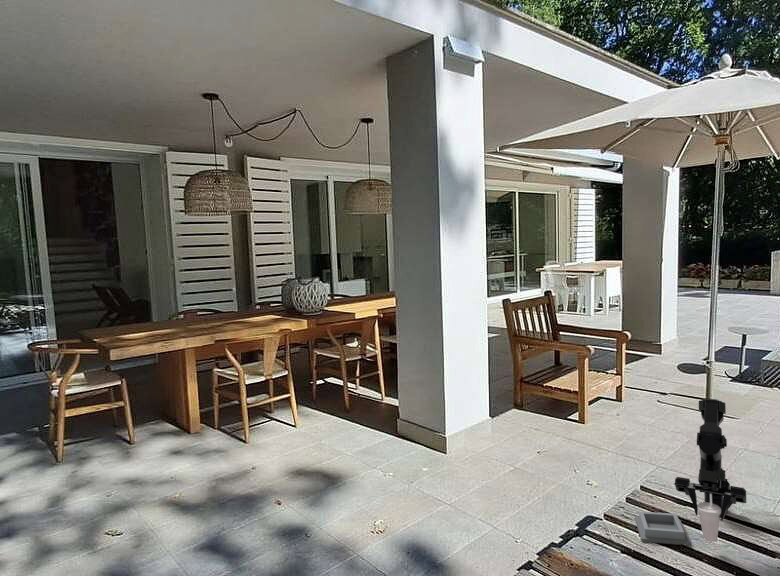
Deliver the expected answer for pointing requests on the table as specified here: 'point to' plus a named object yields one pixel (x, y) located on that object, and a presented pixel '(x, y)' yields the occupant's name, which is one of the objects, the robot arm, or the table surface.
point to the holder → (661, 528)
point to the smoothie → (709, 519)
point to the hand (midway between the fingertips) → (708, 517)
